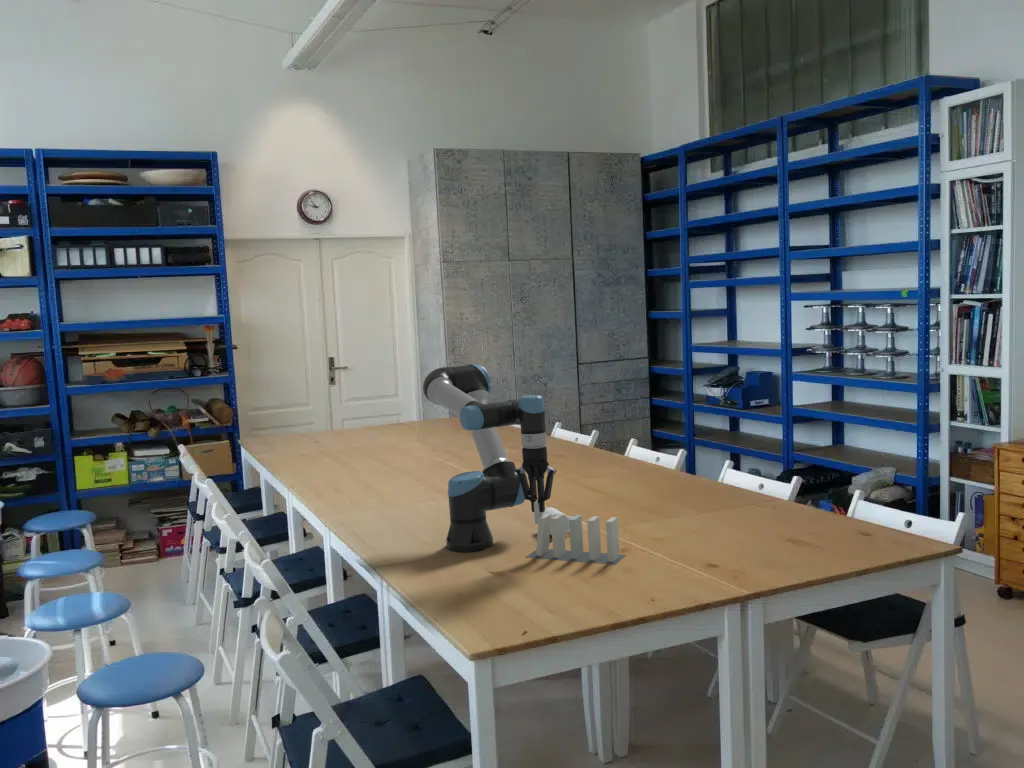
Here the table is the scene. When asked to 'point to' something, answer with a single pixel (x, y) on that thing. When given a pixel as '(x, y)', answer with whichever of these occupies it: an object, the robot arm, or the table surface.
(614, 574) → the table surface
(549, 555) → the strip
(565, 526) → the mug
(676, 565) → the table surface
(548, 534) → the tile
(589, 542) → the tile
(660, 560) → the table surface
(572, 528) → the tile
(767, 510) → the table surface
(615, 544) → the tile
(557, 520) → the tile
